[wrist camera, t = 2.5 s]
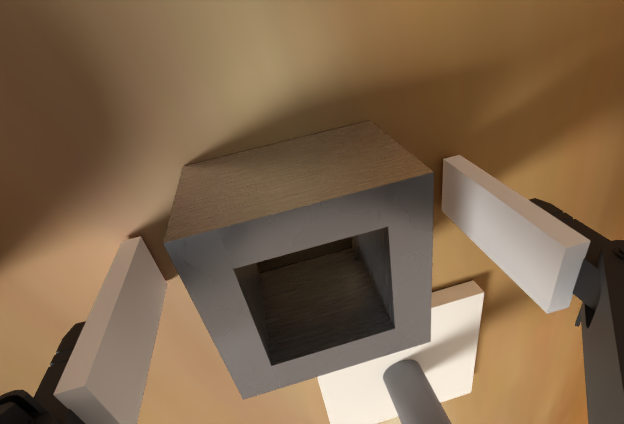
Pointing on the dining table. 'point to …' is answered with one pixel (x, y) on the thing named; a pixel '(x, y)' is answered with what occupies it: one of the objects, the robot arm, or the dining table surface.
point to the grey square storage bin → (302, 235)
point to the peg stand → (413, 369)
